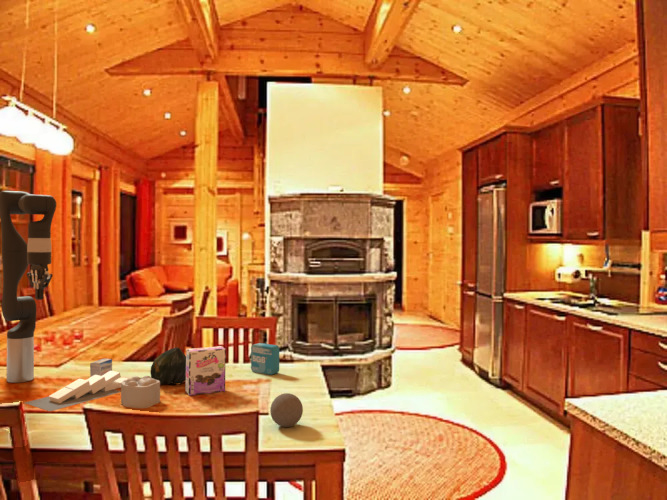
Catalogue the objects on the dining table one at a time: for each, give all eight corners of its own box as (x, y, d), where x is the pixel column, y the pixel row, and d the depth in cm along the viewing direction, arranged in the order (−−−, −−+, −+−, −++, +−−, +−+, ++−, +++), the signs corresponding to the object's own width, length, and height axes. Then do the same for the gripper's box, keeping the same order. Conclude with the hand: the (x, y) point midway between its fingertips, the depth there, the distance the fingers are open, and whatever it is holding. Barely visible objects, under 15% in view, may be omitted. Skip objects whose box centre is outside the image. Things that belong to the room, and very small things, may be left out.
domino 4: (105, 386, 195) (133, 379, 205) (96, 384, 198) (123, 377, 208) (105, 391, 195) (132, 384, 205) (96, 389, 198) (123, 381, 208)
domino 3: (91, 389, 190) (119, 372, 200) (82, 387, 193) (110, 370, 203) (93, 394, 191) (120, 376, 200) (84, 391, 194) (111, 374, 203)
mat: (23, 404, 180) (23, 402, 180) (95, 386, 203) (95, 384, 203) (49, 412, 172) (50, 411, 172) (122, 392, 195) (121, 391, 195)
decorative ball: (264, 429, 160) (264, 396, 160) (279, 418, 169) (279, 387, 169) (294, 433, 156) (294, 400, 156) (307, 423, 166) (308, 391, 165)
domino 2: (75, 394, 185) (104, 376, 194) (65, 391, 188) (95, 374, 197) (76, 398, 185) (105, 381, 195) (67, 396, 188) (96, 378, 198)
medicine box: (100, 385, 204) (100, 363, 204) (89, 384, 205) (89, 362, 205) (112, 380, 212) (112, 358, 212) (102, 379, 213) (102, 358, 213)
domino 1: (58, 398, 179) (88, 380, 189) (48, 396, 182) (79, 378, 192) (59, 403, 180) (90, 385, 190) (50, 400, 183) (80, 382, 193)
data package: (250, 371, 228) (251, 344, 228) (257, 369, 232) (257, 342, 232) (273, 375, 223) (273, 347, 222) (279, 373, 226) (279, 345, 226)
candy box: (188, 396, 192) (188, 351, 192) (185, 392, 197) (185, 348, 197) (225, 391, 198) (226, 348, 198) (221, 387, 204) (221, 345, 203)
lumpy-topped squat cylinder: (144, 409, 177) (144, 383, 177) (113, 405, 181) (113, 379, 181) (163, 400, 187) (164, 376, 186) (133, 396, 191) (133, 372, 191)
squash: (141, 368, 210) (155, 343, 204) (174, 363, 221) (189, 340, 215) (153, 397, 203) (168, 373, 196) (187, 391, 214) (202, 367, 207)
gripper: (60, 251, 187) (60, 299, 188) (39, 250, 194) (39, 297, 195) (39, 251, 181) (39, 301, 181) (18, 250, 188) (18, 299, 188)
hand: (39, 299), depth 188 cm, fingers closed
